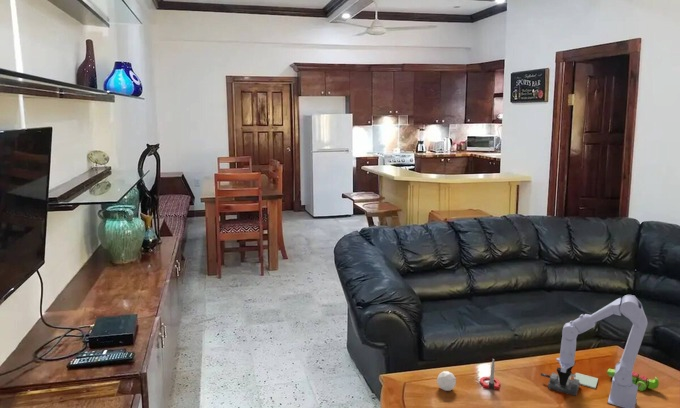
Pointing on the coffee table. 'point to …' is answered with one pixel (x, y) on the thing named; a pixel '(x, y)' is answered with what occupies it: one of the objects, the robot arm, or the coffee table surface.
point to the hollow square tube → (568, 379)
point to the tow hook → (492, 380)
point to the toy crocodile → (639, 380)
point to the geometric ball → (446, 380)
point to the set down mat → (587, 380)
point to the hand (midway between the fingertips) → (564, 381)
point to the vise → (565, 389)
